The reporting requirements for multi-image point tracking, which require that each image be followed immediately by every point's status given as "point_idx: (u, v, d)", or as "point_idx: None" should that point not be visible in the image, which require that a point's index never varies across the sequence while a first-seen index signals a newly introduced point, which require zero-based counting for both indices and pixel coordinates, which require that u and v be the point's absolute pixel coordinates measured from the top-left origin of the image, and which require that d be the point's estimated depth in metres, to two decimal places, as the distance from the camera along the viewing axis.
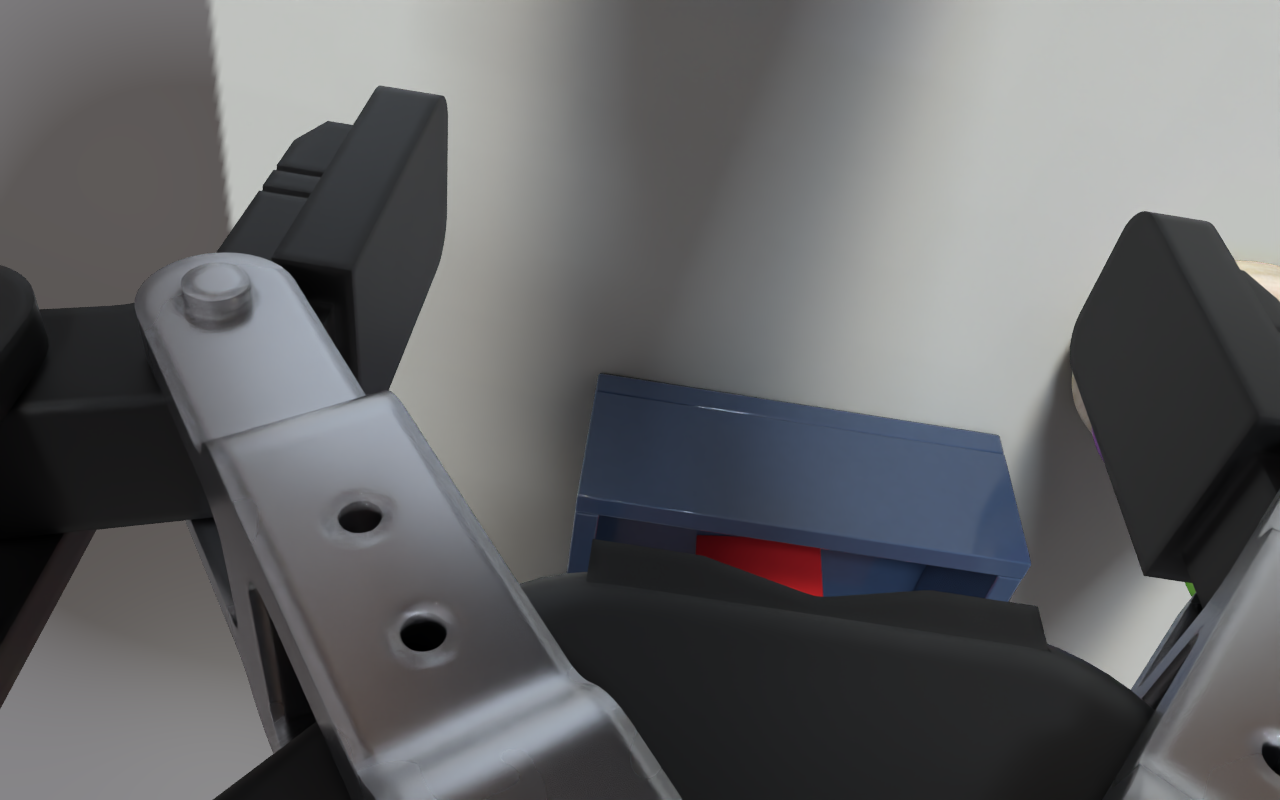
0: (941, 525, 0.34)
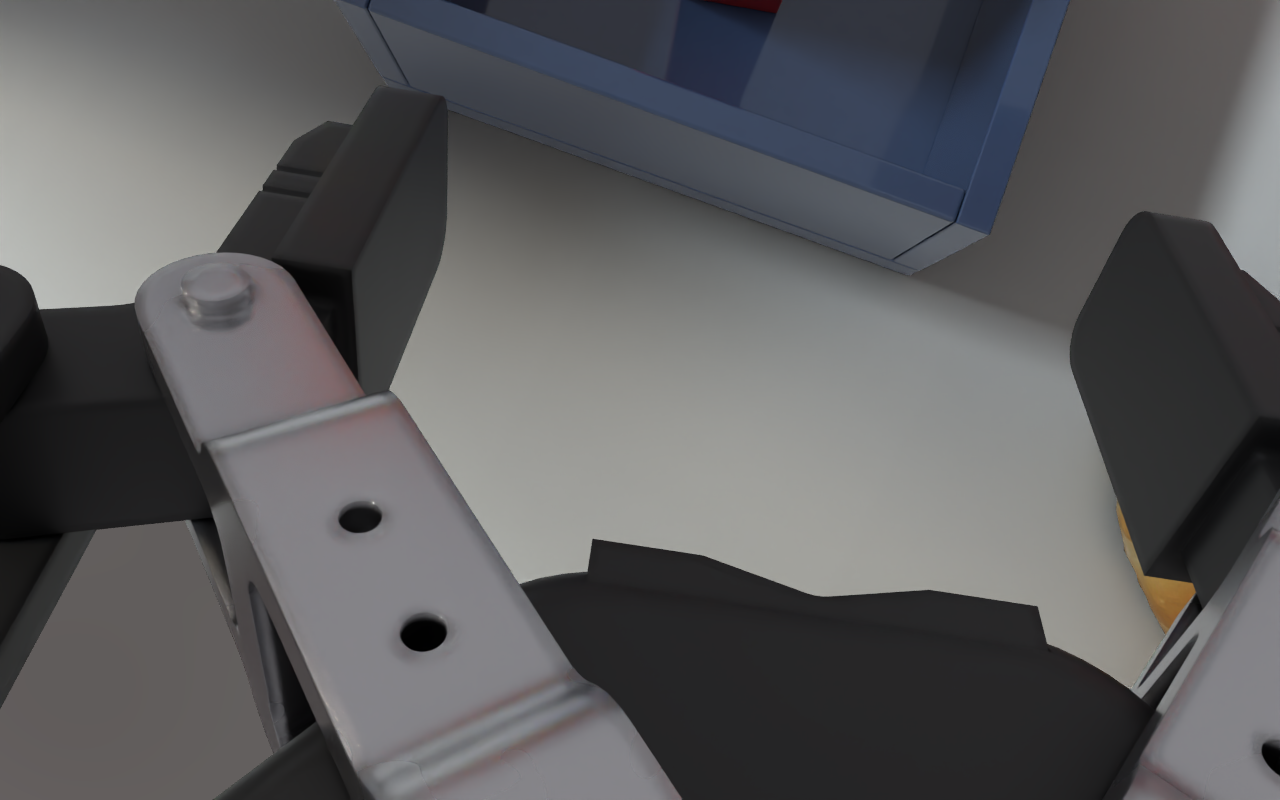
0: None
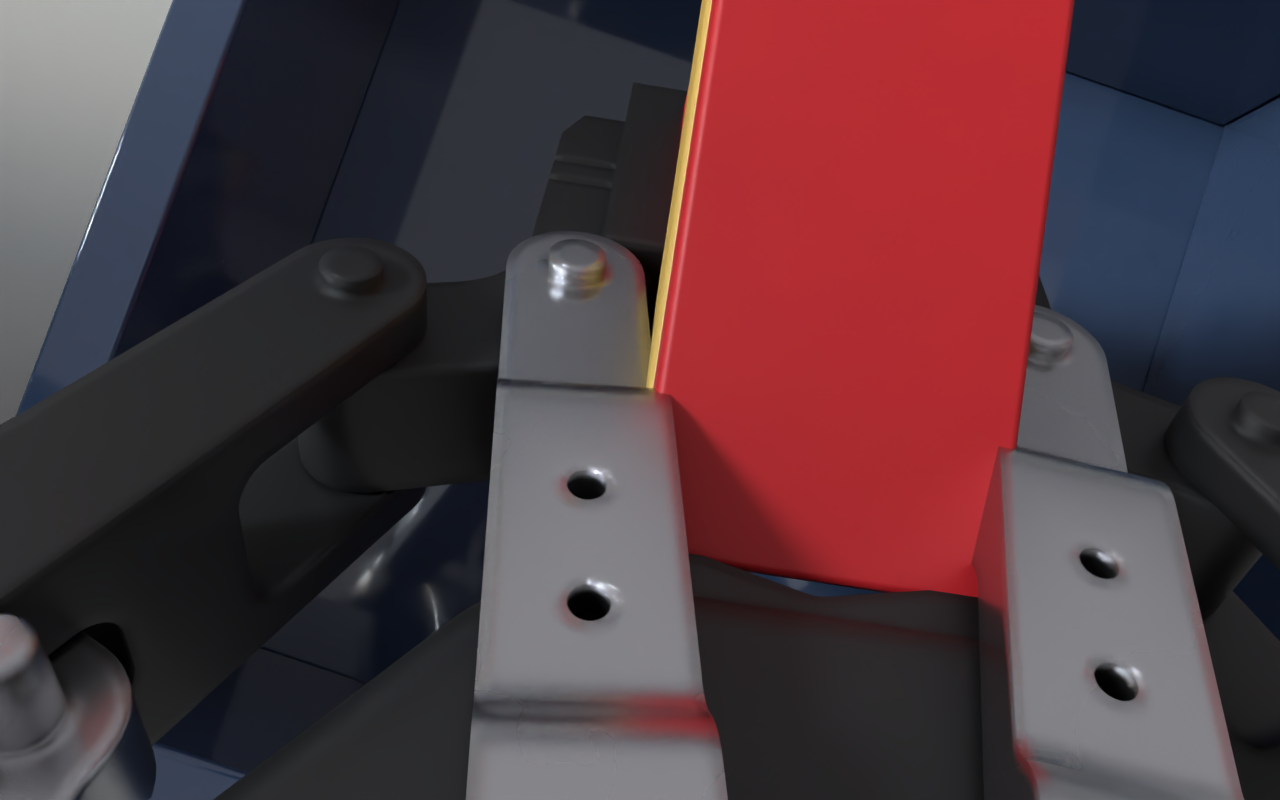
0: None
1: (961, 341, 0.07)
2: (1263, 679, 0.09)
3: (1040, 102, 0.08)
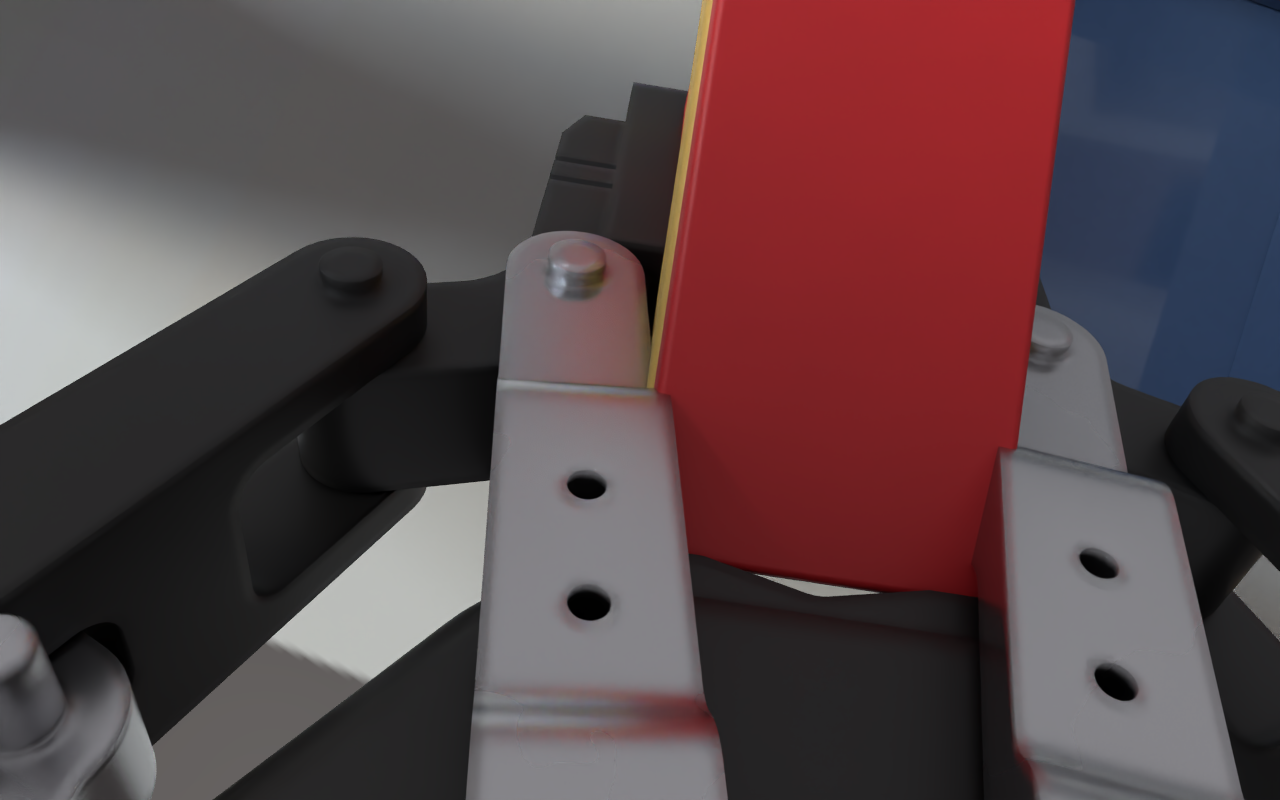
0: None
1: (961, 341, 0.07)
2: (1263, 679, 0.09)
3: (1040, 102, 0.08)
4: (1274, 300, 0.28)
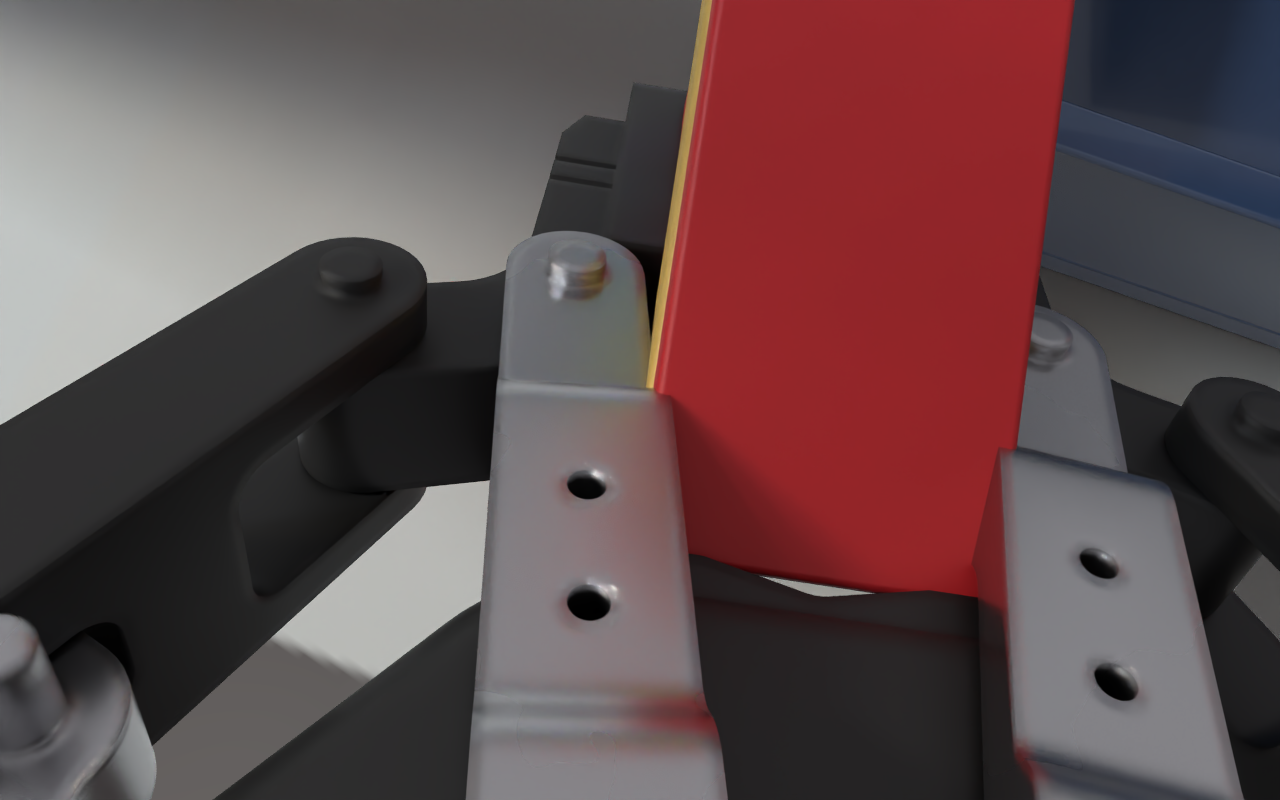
0: None
1: (960, 344, 0.07)
2: (1263, 679, 0.09)
3: (1040, 103, 0.08)
4: None
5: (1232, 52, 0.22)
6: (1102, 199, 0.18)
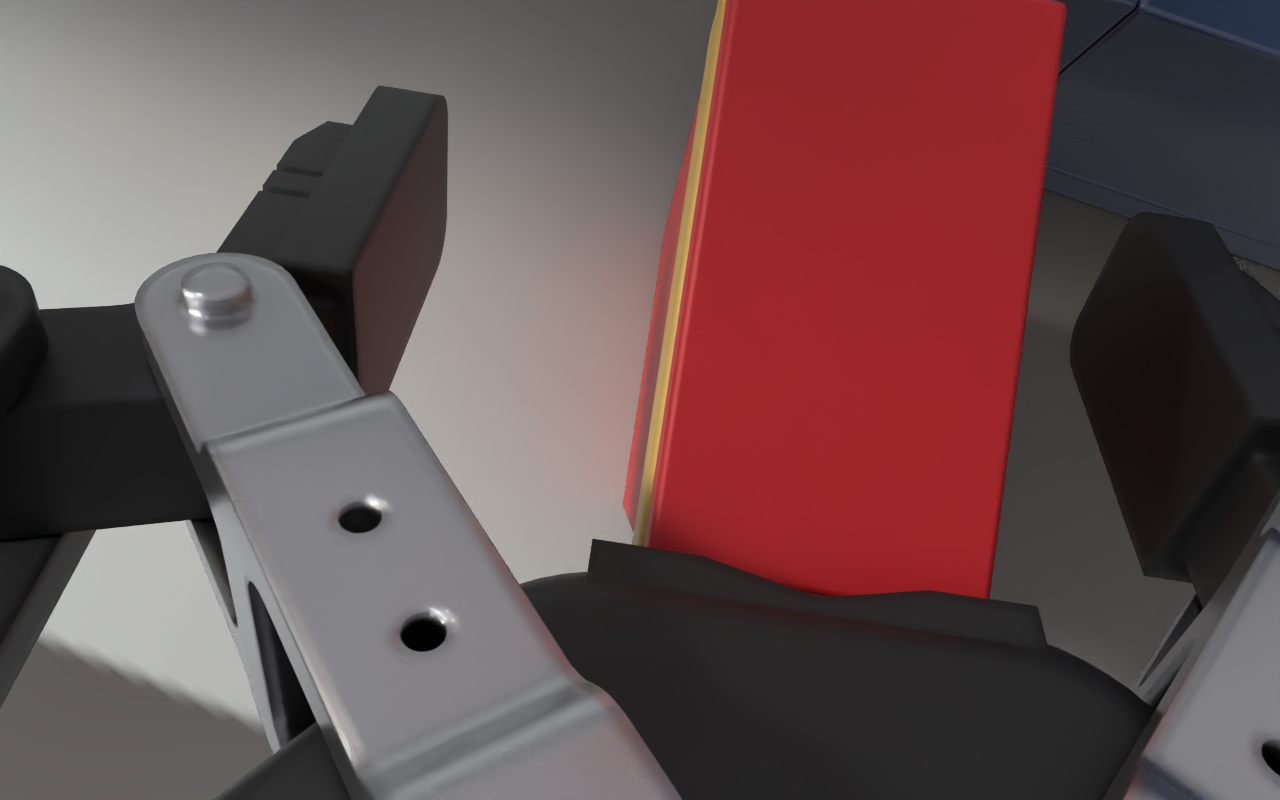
0: None
1: (953, 369, 0.08)
2: None
3: (1029, 144, 0.08)
4: None
5: None
6: (1279, 123, 0.13)
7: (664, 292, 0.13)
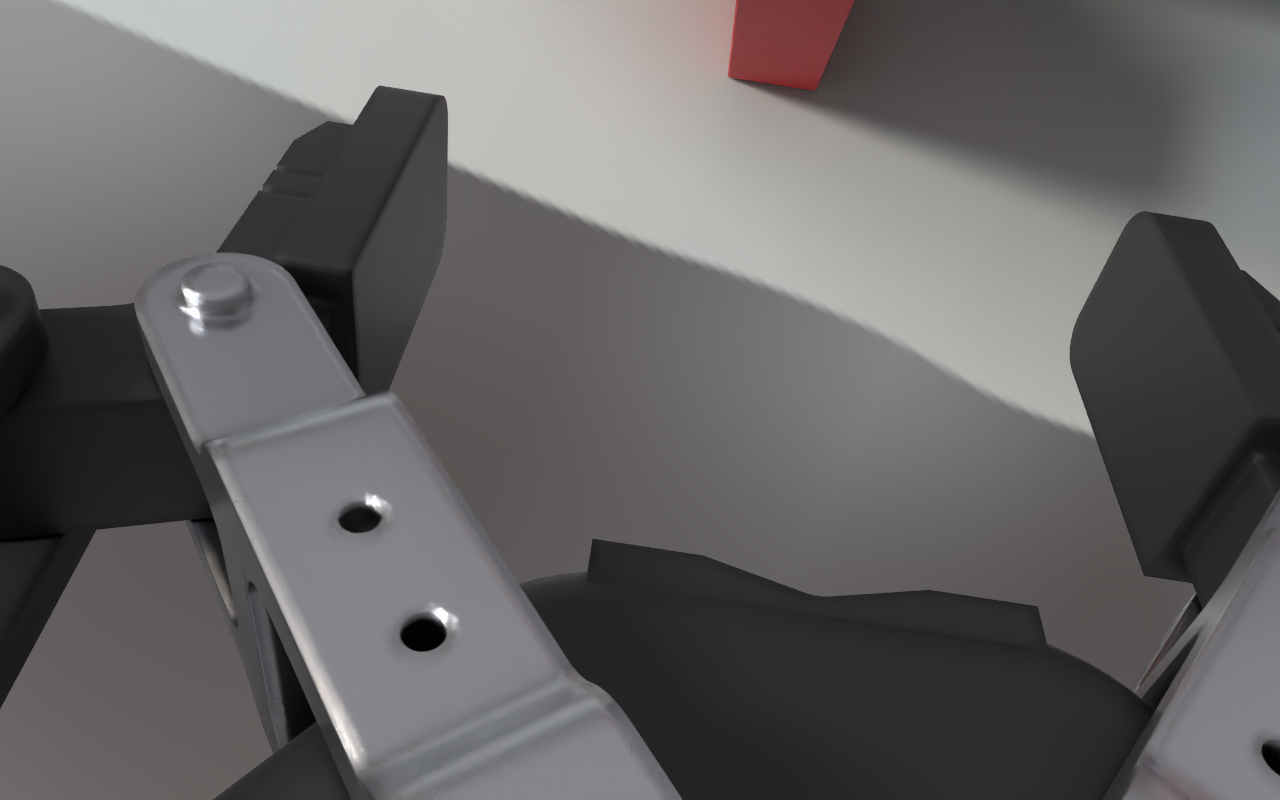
0: None
1: None
2: None
3: None
4: None
5: None
6: None
7: None
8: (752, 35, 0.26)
